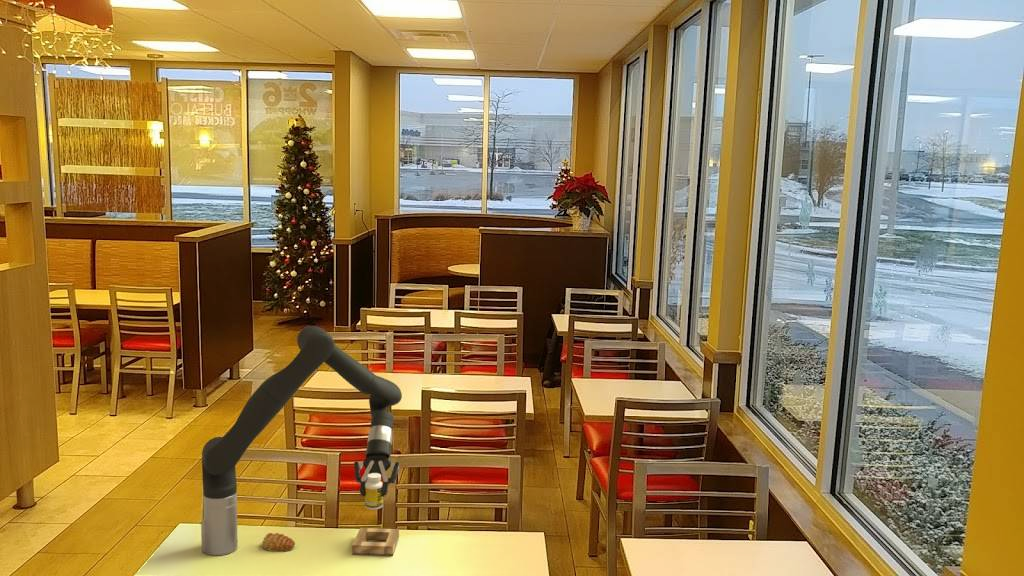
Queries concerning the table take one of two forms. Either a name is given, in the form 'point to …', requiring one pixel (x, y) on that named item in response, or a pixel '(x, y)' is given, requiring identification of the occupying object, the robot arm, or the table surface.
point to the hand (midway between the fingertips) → (373, 495)
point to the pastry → (278, 542)
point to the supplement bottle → (373, 491)
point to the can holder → (375, 542)
